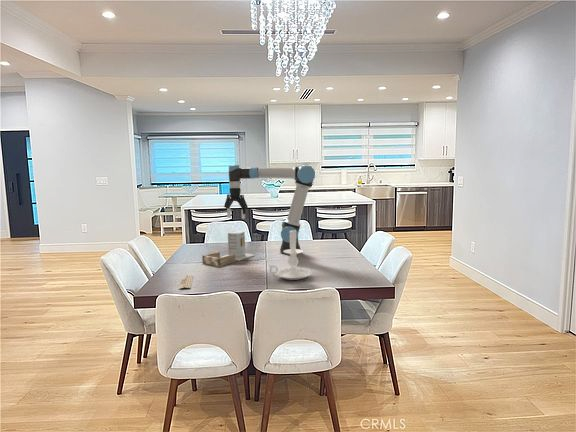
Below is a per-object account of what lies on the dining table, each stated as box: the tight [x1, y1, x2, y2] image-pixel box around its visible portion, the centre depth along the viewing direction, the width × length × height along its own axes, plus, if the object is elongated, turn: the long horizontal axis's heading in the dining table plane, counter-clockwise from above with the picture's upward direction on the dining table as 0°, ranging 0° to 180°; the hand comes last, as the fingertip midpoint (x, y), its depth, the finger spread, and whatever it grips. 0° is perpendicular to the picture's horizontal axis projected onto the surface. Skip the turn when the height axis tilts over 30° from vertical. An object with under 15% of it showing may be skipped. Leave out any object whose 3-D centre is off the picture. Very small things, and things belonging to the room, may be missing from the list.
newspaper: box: [178, 274, 194, 290], centre depth 219 cm, size 24×7×2 cm, turn 10°
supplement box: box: [227, 230, 246, 257], centre depth 277 cm, size 10×9×17 cm
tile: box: [220, 253, 255, 262], centre depth 278 cm, size 17×17×1 cm
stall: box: [201, 251, 236, 267], centre depth 264 cm, size 16×15×5 cm
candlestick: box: [268, 230, 313, 281], centre depth 222 cm, size 21×25×28 cm
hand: (236, 218), depth 275 cm, fingers open, 13 cm apart
